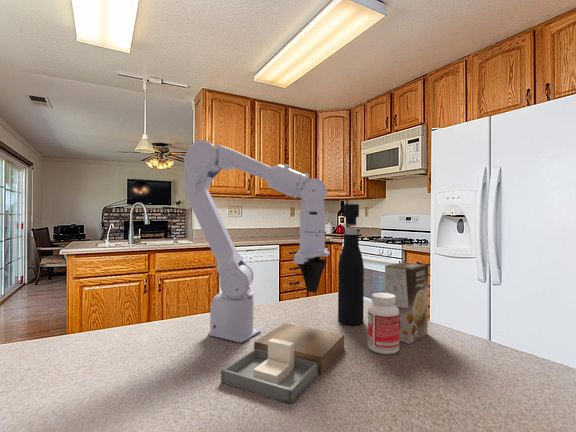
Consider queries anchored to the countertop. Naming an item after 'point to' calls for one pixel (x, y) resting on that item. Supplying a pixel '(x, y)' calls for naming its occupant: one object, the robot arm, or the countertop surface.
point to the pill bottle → (383, 324)
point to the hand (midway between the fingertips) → (312, 291)
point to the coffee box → (409, 298)
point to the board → (307, 343)
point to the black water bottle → (351, 273)
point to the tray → (284, 391)
